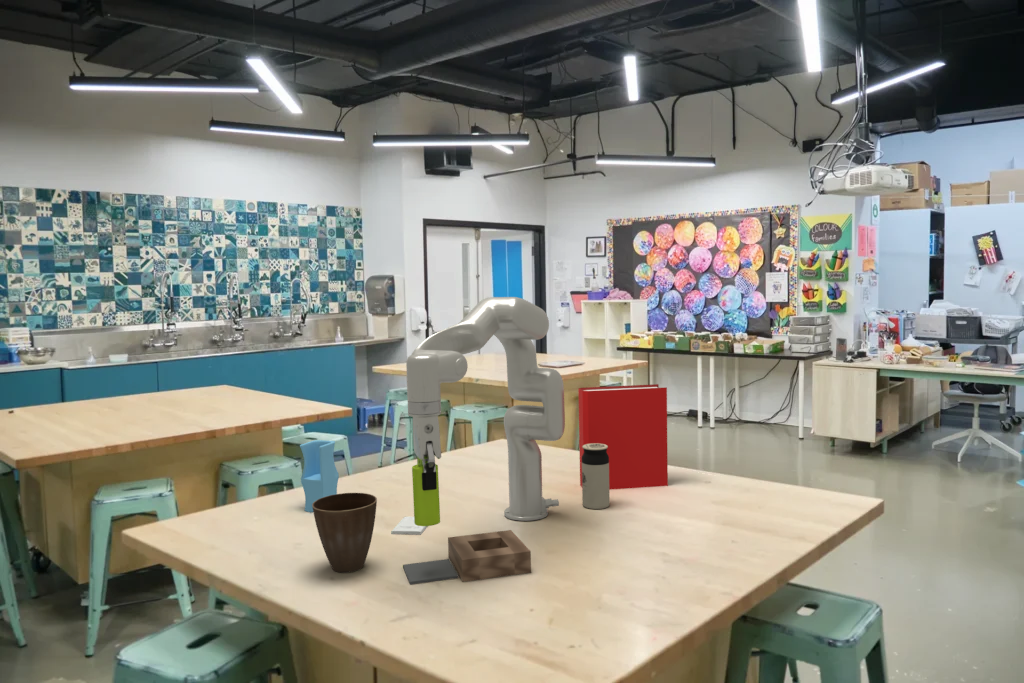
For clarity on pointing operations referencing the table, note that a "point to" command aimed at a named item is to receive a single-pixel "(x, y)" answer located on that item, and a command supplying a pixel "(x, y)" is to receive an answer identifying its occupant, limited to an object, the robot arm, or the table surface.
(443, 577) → the rubber mat
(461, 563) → the socket block
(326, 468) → the light blue angular piece
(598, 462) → the travel mug
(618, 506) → the table surface
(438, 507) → the soap dispenser
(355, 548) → the plant pot
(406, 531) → the external hard drive
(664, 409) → the book
